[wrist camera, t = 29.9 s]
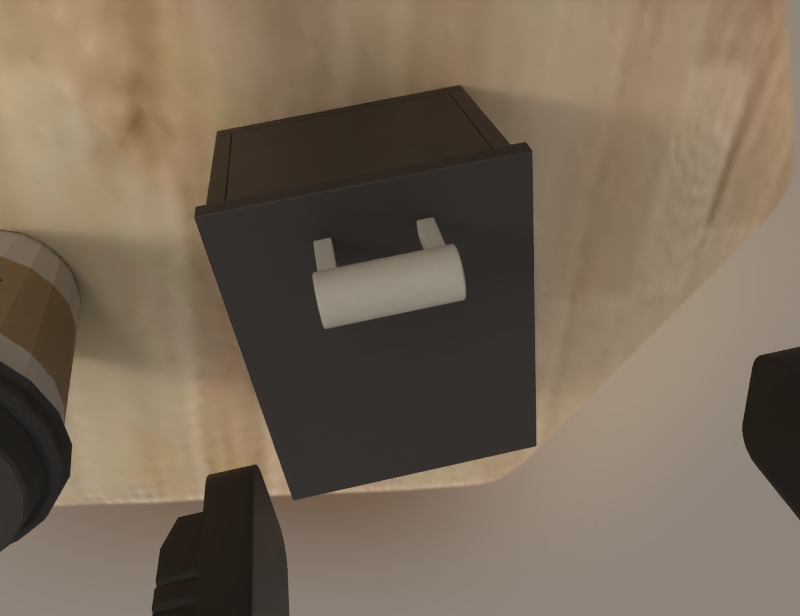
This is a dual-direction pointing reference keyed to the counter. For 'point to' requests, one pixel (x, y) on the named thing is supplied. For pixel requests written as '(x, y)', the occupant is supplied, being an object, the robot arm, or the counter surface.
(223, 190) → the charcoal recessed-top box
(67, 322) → the coffee cup
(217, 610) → the robot arm
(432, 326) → the charcoal box lid
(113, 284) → the counter surface
